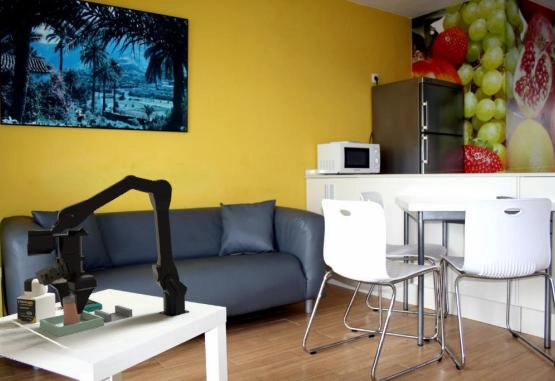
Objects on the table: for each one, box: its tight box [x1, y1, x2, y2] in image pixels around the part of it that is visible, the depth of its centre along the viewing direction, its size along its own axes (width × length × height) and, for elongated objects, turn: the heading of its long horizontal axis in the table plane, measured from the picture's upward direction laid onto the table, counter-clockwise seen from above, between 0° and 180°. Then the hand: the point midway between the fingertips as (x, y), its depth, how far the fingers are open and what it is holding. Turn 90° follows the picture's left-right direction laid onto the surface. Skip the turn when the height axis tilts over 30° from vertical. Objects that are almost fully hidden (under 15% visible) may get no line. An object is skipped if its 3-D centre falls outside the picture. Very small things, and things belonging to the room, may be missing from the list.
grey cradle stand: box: [93, 304, 133, 323], centre depth 137 cm, size 8×7×2 cm
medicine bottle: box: [16, 276, 57, 324], centre depth 136 cm, size 7×7×12 cm
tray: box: [39, 310, 105, 338], centre depth 128 cm, size 12×12×2 cm
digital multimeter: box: [84, 298, 103, 313], centre depth 148 cm, size 7×15×3 cm, turn 44°
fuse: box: [62, 294, 81, 327], centre depth 128 cm, size 4×4×8 cm
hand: (71, 310), depth 128 cm, fingers open, 9 cm apart
